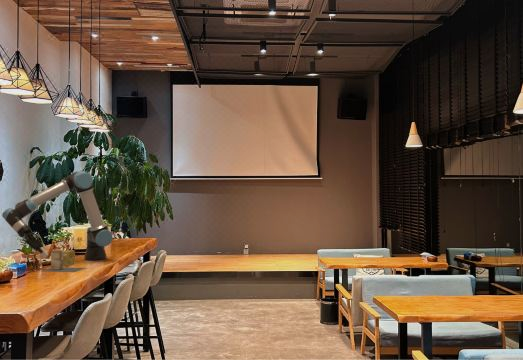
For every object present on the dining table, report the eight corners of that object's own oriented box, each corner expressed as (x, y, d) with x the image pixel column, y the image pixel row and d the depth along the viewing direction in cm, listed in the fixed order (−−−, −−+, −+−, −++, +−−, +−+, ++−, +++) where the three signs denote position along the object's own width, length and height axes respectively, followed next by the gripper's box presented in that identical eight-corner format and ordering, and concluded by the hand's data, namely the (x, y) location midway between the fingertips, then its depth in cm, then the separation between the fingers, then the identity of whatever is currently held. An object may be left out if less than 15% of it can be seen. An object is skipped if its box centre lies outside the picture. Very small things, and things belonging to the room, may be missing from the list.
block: (55, 268, 311) (55, 249, 312) (62, 268, 311) (63, 249, 311) (51, 270, 306) (51, 250, 307) (58, 270, 306) (58, 250, 306)
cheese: (66, 267, 320) (66, 252, 320) (51, 267, 322) (51, 251, 322) (75, 265, 330) (75, 250, 330) (60, 264, 332) (60, 249, 332)
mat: (55, 268, 317) (55, 267, 317) (87, 268, 314) (87, 267, 314) (40, 272, 302) (40, 271, 302) (74, 273, 299) (74, 272, 299)
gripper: (24, 232, 319) (48, 259, 316) (11, 234, 306) (36, 261, 303) (32, 224, 318) (56, 250, 315) (19, 225, 305) (44, 253, 303)
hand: (46, 256), depth 309 cm, fingers closed
